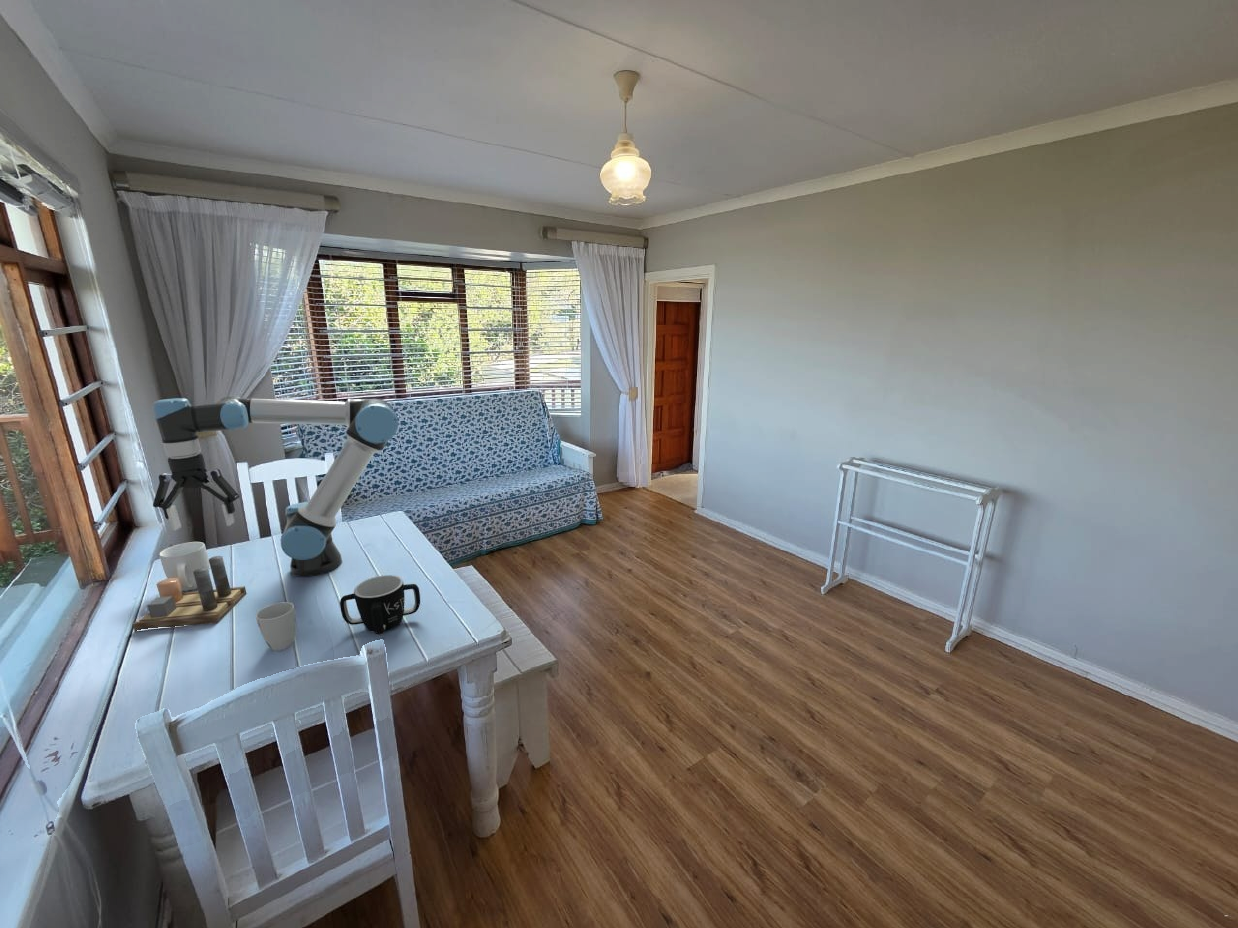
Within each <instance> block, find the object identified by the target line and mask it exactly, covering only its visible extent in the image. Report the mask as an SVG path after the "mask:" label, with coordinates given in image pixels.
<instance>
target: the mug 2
mask: <svg viewBox="0 0 1238 928" xmlns="http://www.w3.org/2000/svg"><path fill="white" fill-rule="evenodd" d="M409 590H413V596H414V604H413V606H412V607H410V608H406V609H405V591H409ZM351 600H355V604H356V608H357V610H358V614H359V616H360V617H357V618H353V617H351V615H350V613H349V610H348V605H347V601H351ZM420 606H421V593H420V589H419V586H418V585H417V583H407V584H405V583H404V579H403V578H402V577H401V576H397V575H392V574H385V575H379V576H374V577H371V578H367V579H366V580H363V581H362V582H360V583H359V584H357V585H356V586H355V587H354V589H353V593H349V594H345V595H343V596H342V597H341V598H340V600H339V607H340V612H341V615H342V616H341V617H342V618H343V619H344V622H346V623H347V624H348V625H350V626H351V625H352V626H354V625H362V624H363V625H364V626H365V629H367V631H369V632H372V633H375V634H376V635H382V634H384V633H385V632H388V631H390V630H393V629H395V628H397V627H398V626H399V625H400V624H401V623H402V621H403V619H404V617H405V616H409V615H413V614H415V613H416V612H418V610H419V609H420Z"/></svg>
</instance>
